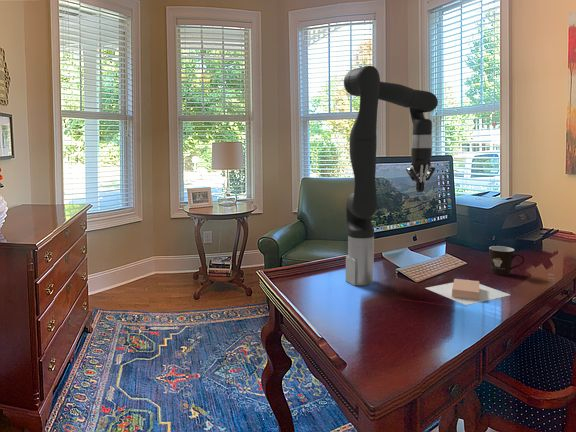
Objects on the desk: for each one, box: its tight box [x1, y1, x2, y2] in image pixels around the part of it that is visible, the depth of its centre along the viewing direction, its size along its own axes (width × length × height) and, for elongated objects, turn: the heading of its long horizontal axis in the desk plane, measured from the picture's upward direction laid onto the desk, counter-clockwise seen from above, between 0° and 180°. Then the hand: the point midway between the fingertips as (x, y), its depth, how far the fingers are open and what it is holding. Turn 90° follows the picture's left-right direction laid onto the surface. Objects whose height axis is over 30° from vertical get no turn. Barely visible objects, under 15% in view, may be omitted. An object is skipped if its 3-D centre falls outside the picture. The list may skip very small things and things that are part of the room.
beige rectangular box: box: [452, 278, 480, 300], centre depth 144 cm, size 3×8×12 cm
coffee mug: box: [488, 245, 525, 277], centre depth 163 cm, size 12×9×10 cm
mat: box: [425, 282, 511, 307], centre depth 146 cm, size 20×18×1 cm
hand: (420, 191), depth 170 cm, fingers closed
